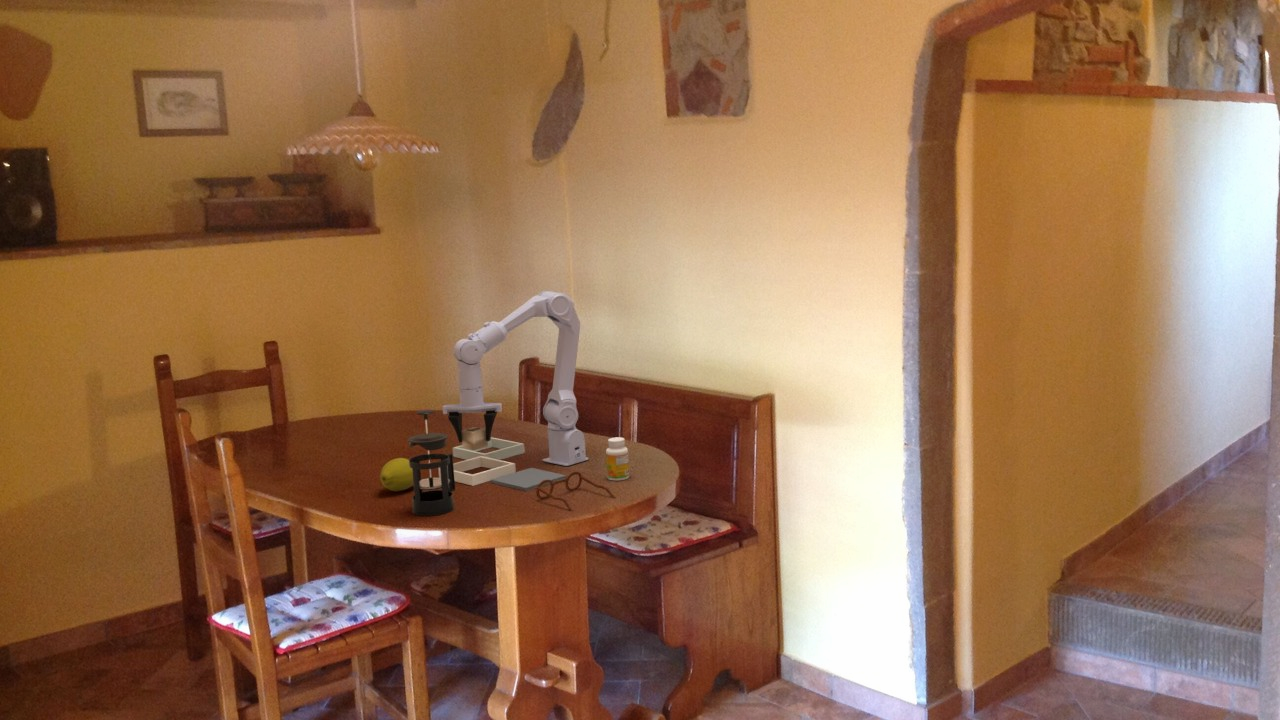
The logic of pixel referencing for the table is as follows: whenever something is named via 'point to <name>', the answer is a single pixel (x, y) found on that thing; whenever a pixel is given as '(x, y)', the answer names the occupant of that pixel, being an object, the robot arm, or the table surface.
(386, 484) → the lemon
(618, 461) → the supplement bottle
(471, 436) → the letter cube
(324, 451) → the table surface
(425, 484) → the french press
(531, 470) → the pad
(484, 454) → the bin
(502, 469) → the bin
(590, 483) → the glasses
